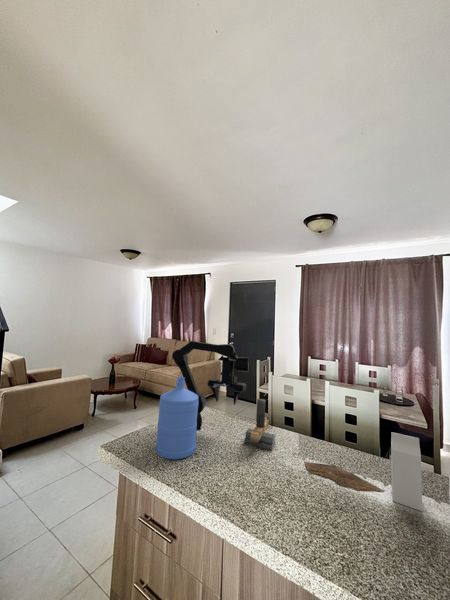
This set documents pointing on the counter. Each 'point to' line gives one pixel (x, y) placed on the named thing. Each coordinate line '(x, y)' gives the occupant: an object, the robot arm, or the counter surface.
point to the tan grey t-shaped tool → (260, 422)
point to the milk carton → (406, 470)
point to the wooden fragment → (341, 476)
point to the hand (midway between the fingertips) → (225, 403)
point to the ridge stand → (261, 440)
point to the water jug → (177, 423)
